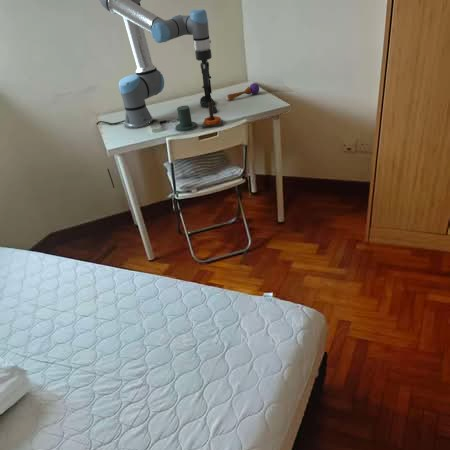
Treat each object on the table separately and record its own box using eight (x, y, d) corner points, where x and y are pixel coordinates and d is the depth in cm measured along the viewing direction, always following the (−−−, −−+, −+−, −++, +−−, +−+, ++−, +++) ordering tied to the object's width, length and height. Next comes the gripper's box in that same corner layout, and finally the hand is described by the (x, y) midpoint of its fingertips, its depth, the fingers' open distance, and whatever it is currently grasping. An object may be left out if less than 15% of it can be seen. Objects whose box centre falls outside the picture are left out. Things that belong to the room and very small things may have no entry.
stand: (175, 132, 216) (171, 112, 209) (177, 125, 224) (173, 105, 218) (196, 129, 215) (193, 109, 209) (197, 122, 223) (194, 102, 217)
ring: (204, 125, 215) (204, 122, 214) (205, 120, 221) (204, 117, 220) (219, 123, 215) (219, 120, 213) (220, 118, 221) (219, 115, 219)
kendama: (225, 92, 245) (255, 81, 248) (228, 102, 248) (257, 92, 252) (228, 92, 240) (259, 81, 244) (231, 103, 244) (261, 92, 247)
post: (204, 128, 216) (199, 99, 206) (204, 122, 222) (200, 94, 213) (221, 126, 215) (217, 97, 206) (221, 120, 222) (217, 92, 212)
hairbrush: (207, 109, 229) (197, 95, 246) (208, 116, 231) (198, 102, 249) (222, 106, 230) (211, 92, 247) (222, 113, 232) (211, 99, 250)
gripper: (210, 54, 186) (215, 104, 200) (211, 42, 205) (216, 89, 219) (193, 56, 187) (200, 106, 201) (196, 44, 205) (202, 90, 219)
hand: (208, 97), depth 210 cm, fingers open, 13 cm apart
